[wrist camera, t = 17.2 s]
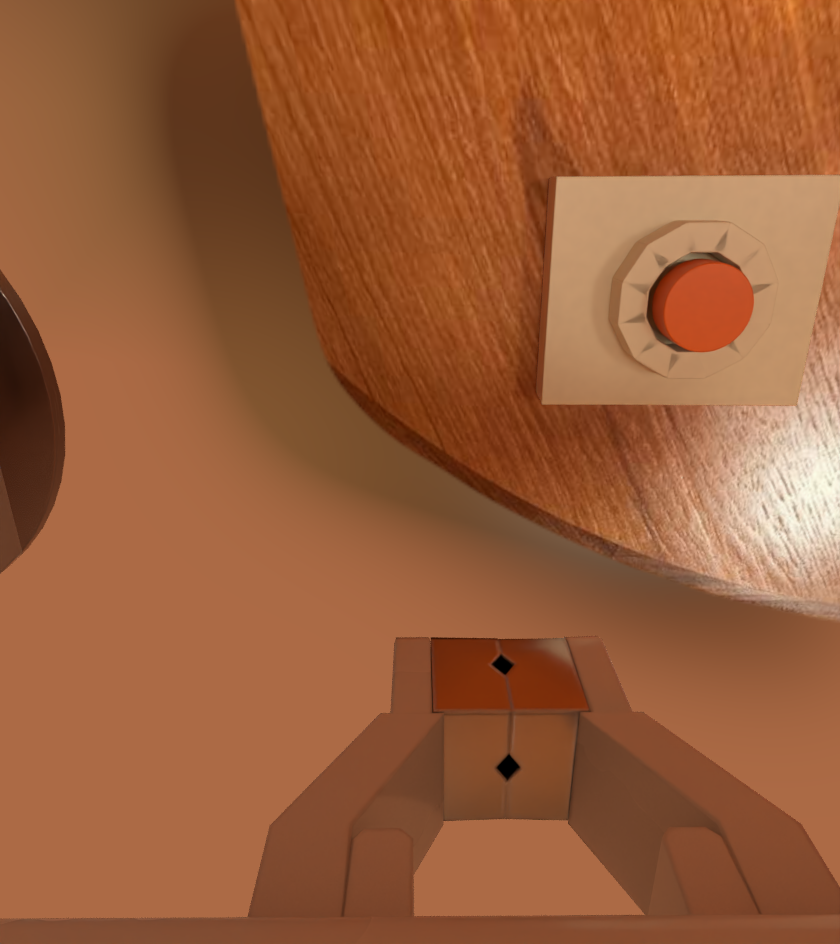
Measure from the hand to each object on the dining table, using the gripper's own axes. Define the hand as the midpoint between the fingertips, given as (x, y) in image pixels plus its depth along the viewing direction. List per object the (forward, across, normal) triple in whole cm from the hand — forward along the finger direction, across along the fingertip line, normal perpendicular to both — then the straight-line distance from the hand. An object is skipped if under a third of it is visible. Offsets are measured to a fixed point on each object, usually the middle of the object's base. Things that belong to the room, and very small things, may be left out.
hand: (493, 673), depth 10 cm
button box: (+25, -11, -2) cm, 27 cm away
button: (+21, -11, -2) cm, 24 cm away
